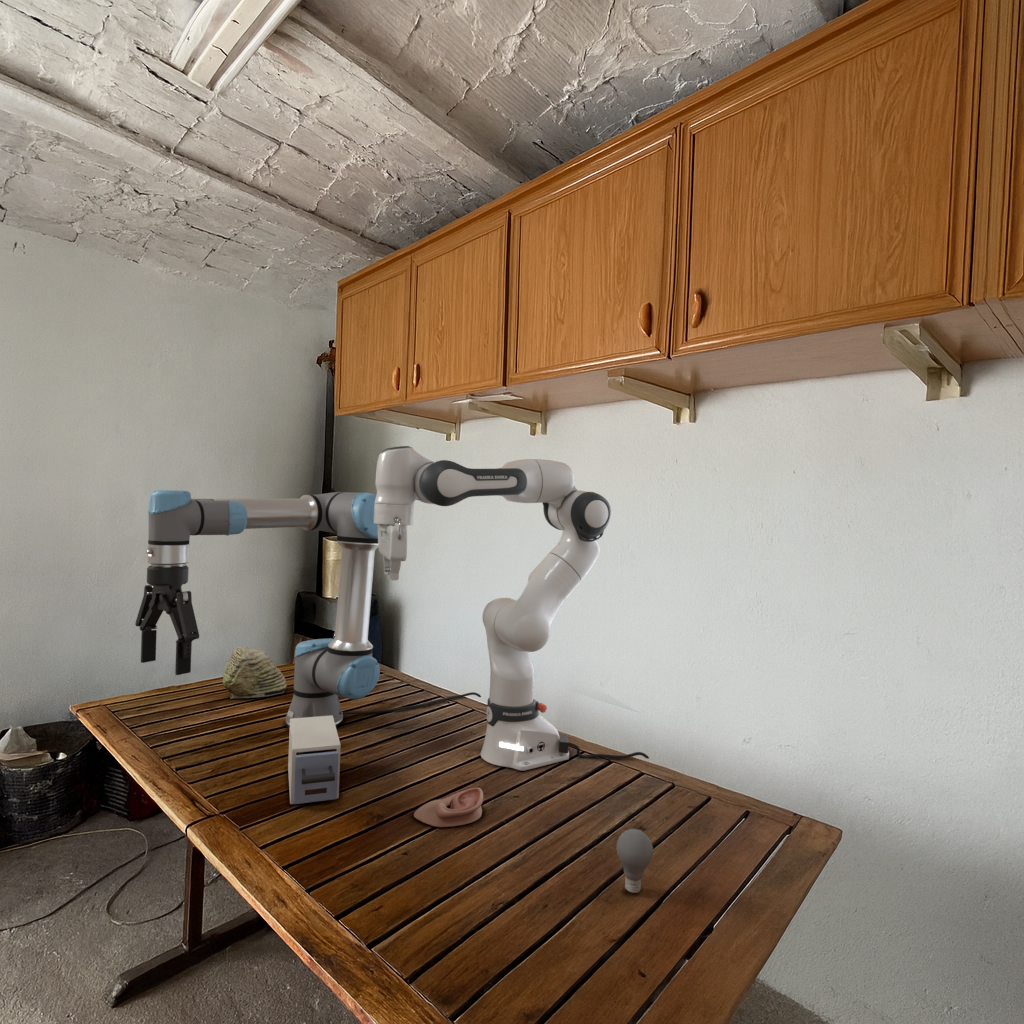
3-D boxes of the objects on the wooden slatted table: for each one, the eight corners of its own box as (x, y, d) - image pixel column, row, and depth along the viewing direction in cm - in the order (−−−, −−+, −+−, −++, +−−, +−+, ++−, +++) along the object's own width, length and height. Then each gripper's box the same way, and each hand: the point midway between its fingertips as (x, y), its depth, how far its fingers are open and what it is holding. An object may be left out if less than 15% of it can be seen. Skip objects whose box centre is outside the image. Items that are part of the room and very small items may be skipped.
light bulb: (610, 879, 108) (613, 822, 108) (644, 879, 109) (647, 822, 109) (619, 902, 102) (622, 840, 102) (655, 901, 103) (658, 840, 103)
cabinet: (338, 798, 133) (340, 744, 133) (290, 804, 130) (292, 749, 130) (330, 762, 151) (332, 715, 150) (288, 767, 147) (289, 718, 147)
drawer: (339, 811, 126) (341, 763, 126) (294, 817, 123) (296, 768, 123) (329, 764, 147) (331, 723, 147) (291, 768, 144) (292, 727, 144)
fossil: (218, 695, 195) (220, 647, 195) (278, 685, 208) (279, 640, 207) (228, 703, 189) (230, 653, 188) (289, 692, 201) (290, 645, 201)
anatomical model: (408, 802, 124) (427, 778, 135) (407, 822, 124) (427, 796, 136) (473, 812, 122) (488, 786, 133) (473, 832, 122) (487, 805, 133)
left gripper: (119, 560, 134) (116, 660, 135) (183, 572, 120) (179, 683, 121) (155, 558, 140) (152, 653, 141) (220, 569, 126) (216, 674, 127)
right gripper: (415, 519, 136) (412, 583, 136) (400, 515, 155) (398, 571, 155) (385, 518, 134) (382, 583, 134) (374, 514, 153) (372, 571, 153)
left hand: (165, 667), depth 131 cm, fingers open, 13 cm apart
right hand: (391, 577), depth 145 cm, fingers open, 8 cm apart
